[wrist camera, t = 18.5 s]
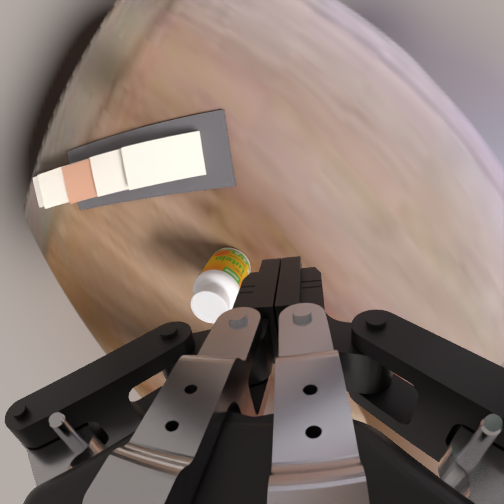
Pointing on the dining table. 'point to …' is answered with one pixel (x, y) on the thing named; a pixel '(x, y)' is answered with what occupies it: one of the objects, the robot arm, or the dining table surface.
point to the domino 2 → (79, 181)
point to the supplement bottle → (219, 284)
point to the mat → (206, 123)
